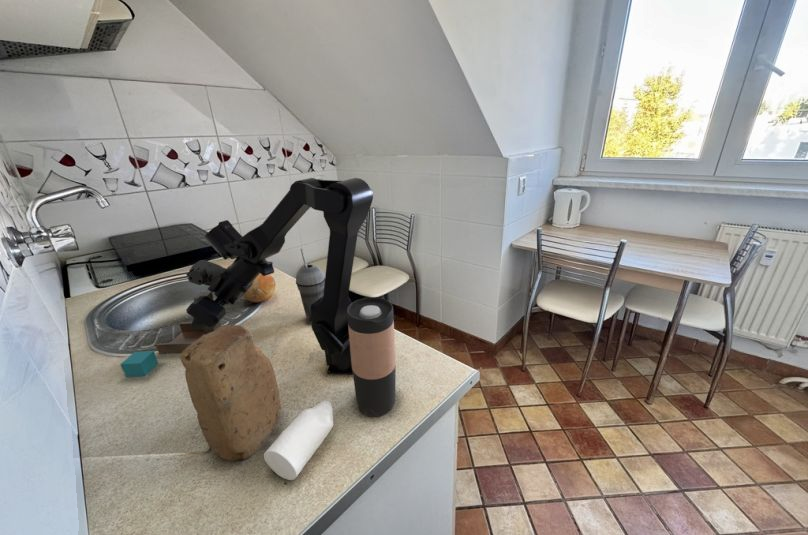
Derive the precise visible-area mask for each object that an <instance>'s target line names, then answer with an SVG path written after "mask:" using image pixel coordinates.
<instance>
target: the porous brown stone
mask: <svg viewBox="0 0 808 535" xmlns="http://www.w3.org/2000/svg"><path fill="white" fill-rule="evenodd" d="M180 361H181V364H182V366H183V367H184V369H185V371H184V376H185V380H186V381H185V382H186V385H187V389H188V392H189V396H190V399H191V403H192V405H193V408H194V410H195V412H196V417H197V422H198V425H199V428H200V430H201V433H202V435H203V437H204V440H205V442H206V444H207V445H208V447H209V448H210V449H211V451H213V452H214V453H215V454H216V455H217V456H219V457H221V458H222V459H224V460H227V461H229V462H235V461H236V460H237V461H238V460H246V459H248V458H250V457H252V456H253V455H255V454H256V453H257V452H258V451H259V450H260V449H261V448H262V447H263V446H264V445H265V444H266V443H267V441H268V440H269V438H270V436H271V434H272V432H273V431H274V429H275V427H276V425H277V423H278V420H279V417H280V416H279V415H280V410H282V404H281V395H280V391H279V385H278V381H277V377H276V373H275V368H274V366H273V363H272V361H271V359H270V357H268V356H267V354H265V353H264V352H263V350H262V348H260V347H259V346H256V345H255V342H254V336H253V335H252V333H251V332H250V331H249V329H247V328H246V327H245V326H243V325H241V324H240V325H239V324H225V325H224V324H223V325H221V327H219V328H217V329H215V330H214V331H213V332H211V333H208V334H206V335H204V336H202V337H201V338H199V339H198V340H196V341H195V342H193V343H192V344H191V345H189V346H188V347H187V348H186V349H185V350H184V351H183V352H182V353H180Z"/></svg>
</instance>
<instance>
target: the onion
mask: <svg viewBox="0 0 808 535" xmlns="http://www.w3.org/2000/svg"><path fill="white" fill-rule="evenodd" d="M275 291H276V280H275V278H274V276H273V275H272V274H269V275H266V276H263V275H262V274H261V273H260V274H259V275H258V276H257V278H256V279H255V280H254V281H253V285H252V286H251V287H250V288H249V289H248V290H247V291H246V293H245V294H243V295H242V296H241V297H243V298H244V299H245V300H247V301H248V302H250V303H260V302H264V301H268V300H269V299H271V298H272V297H273V296H274V294H275Z"/></svg>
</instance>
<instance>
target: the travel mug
mask: <svg viewBox="0 0 808 535" xmlns="http://www.w3.org/2000/svg"><path fill="white" fill-rule="evenodd" d="M347 318H348V329H349V341H350V352H351V363H352V372H353V375H352V379H353V386H354V392H355V400H356V406H357V408H358V410H359V411H360V412H361V414H363V415H365V416H368V417H371V418H372V417H373V418H374V417H376V418H378V417H381V416H385V415H387V414H388V413H390V412H391V411H392V409H393V408H394V406H395V404H396V378H397V377H396V375H397V374H396V370H397V368H396V361H397V360H396V342H395V340H396V339H395V322H394V318H395V317H394V306H393V304H392V303H391V302H390V301H389V300H387V299H386V298H383V297H377V296H370V297H369V296H368V297H363V298H359V299H356V300H354V301H352V302H351V304H350V305H349V307H348V309H347Z"/></svg>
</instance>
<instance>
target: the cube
mask: <svg viewBox="0 0 808 535" xmlns="http://www.w3.org/2000/svg"><path fill="white" fill-rule="evenodd" d="M158 364H159V361H158V358H157V356H156V353H155V351H154V350H146V351H145V350H143V351H134V352H132V353H131V354H130V355H128V357H127V358H125V359H124V360H123V361H122V362H120V367H121V369H122V372H123V373H124V375H125V377H127V378H130V377H131V378H133V377H146V376H147V375H149V374H150V372H151V371H152V370H153V369H154V368H156V367H157V365H158Z"/></svg>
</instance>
